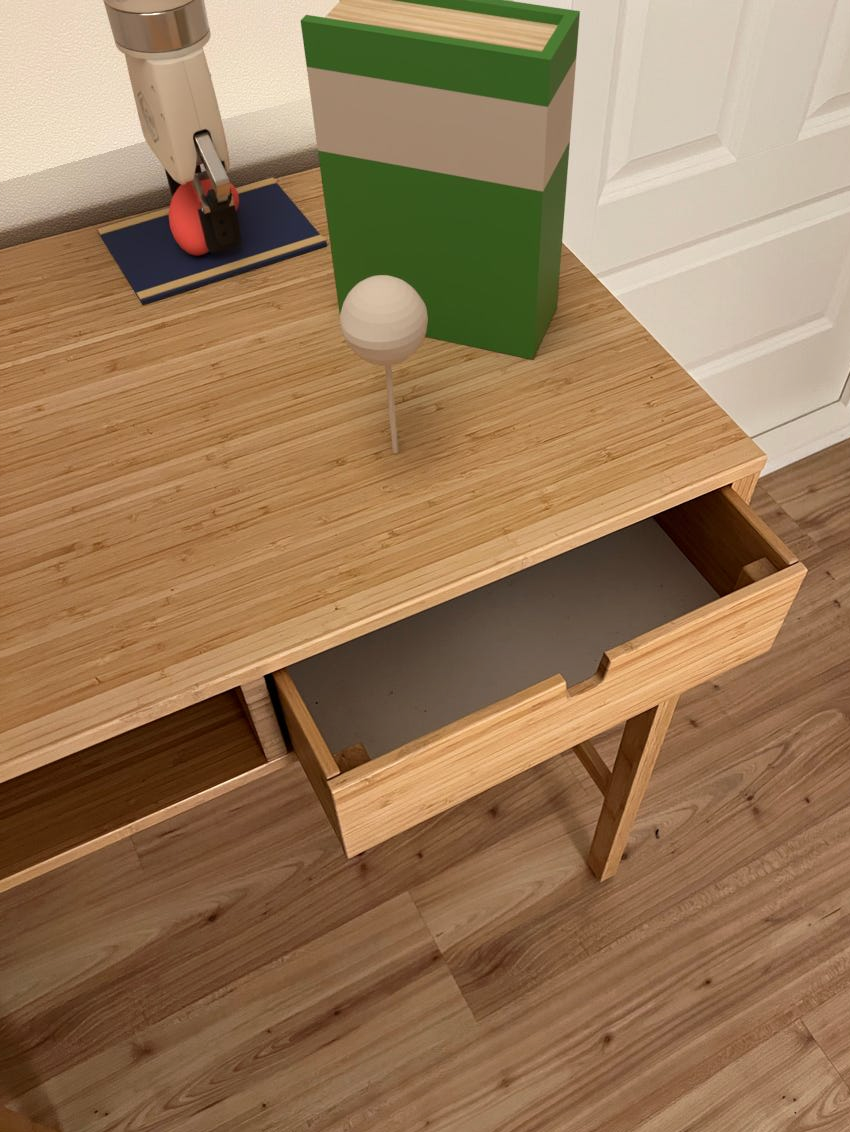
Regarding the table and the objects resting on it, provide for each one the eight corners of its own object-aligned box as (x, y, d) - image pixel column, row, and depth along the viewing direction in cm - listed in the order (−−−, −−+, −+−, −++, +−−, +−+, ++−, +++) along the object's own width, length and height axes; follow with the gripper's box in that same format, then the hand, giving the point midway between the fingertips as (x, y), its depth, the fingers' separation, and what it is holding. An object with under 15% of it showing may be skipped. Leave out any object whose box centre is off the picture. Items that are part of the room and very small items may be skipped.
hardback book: (340, 318, 87) (300, 20, 67) (371, 270, 91) (342, -24, 72) (533, 359, 84) (550, 59, 64) (557, 307, 88) (579, 11, 68)
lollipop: (386, 414, 80) (370, 246, 68) (448, 441, 78) (443, 273, 66) (341, 461, 77) (316, 293, 65) (405, 490, 75) (391, 323, 63)
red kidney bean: (156, 257, 94) (148, 221, 88) (198, 179, 96) (192, 138, 89) (208, 282, 94) (204, 248, 88) (248, 204, 96) (246, 166, 90)
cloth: (142, 305, 88) (141, 300, 88) (97, 231, 95) (95, 227, 94) (327, 246, 93) (326, 241, 93) (272, 180, 100) (271, 175, 99)
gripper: (78, -13, 82) (137, 189, 96) (150, 76, 73) (203, 284, 87) (166, -32, 84) (211, 168, 98) (245, 52, 75) (282, 259, 89)
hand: (207, 222), depth 93 cm, fingers closed on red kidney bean, 8 cm apart
